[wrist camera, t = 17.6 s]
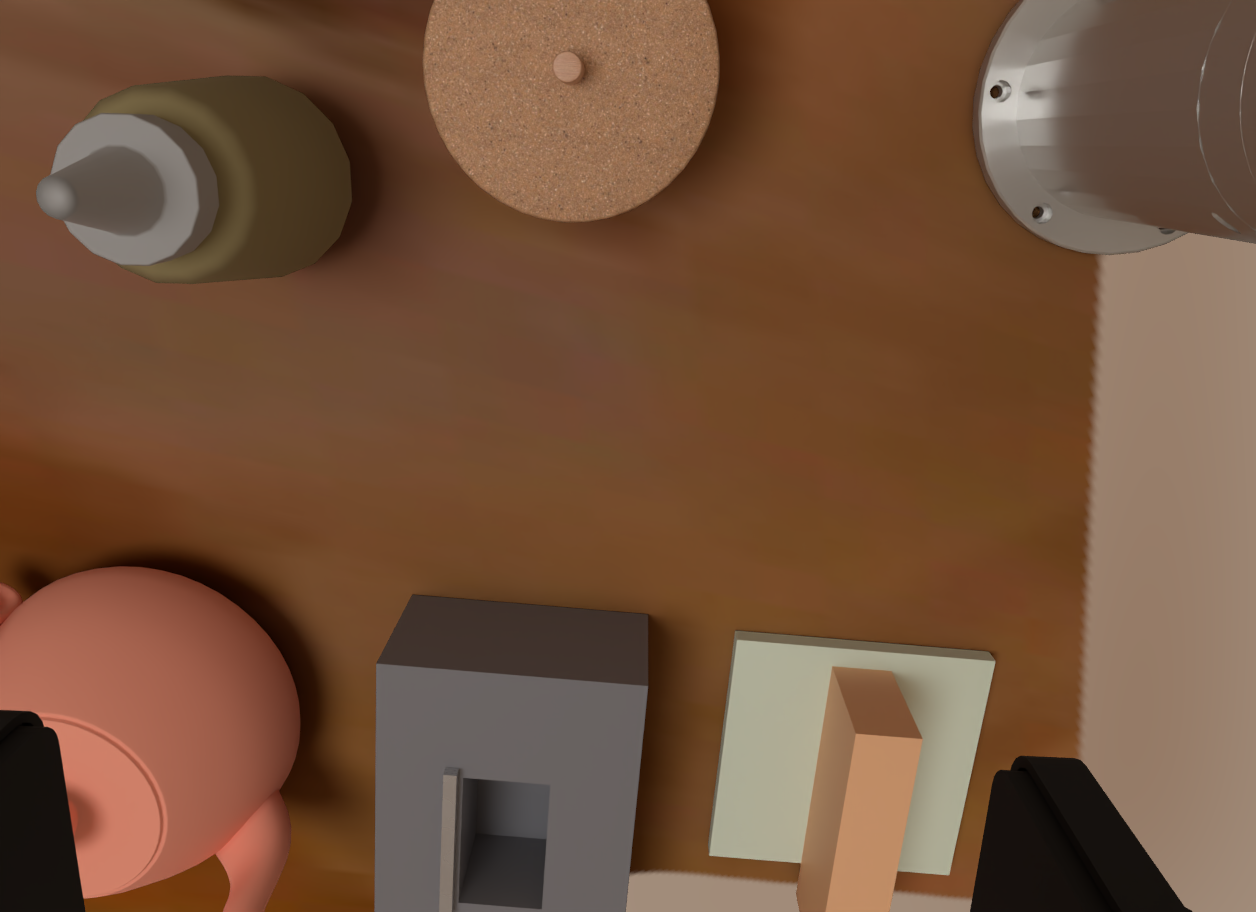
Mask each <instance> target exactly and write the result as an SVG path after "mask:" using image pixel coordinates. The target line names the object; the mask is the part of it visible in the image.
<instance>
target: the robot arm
mask: <svg viewBox="0 0 1256 912" xmlns="http://www.w3.org/2000/svg"><path fill="white" fill-rule="evenodd" d="M993 86H996V87H997V88H998V89H999V94H998V96H997V97H996V98H995V99H994V98H992V97H991V96H990V90H991V88H992V87H993ZM973 134H974V141H975V148H976V155H977V158H978V161H979V164H980V167H981V170H982V172H983V175H984V178H985V181H986V183H987V184H988V186H989V188H990V189H991V191H992V193H993V194H994V196H995V198H996V199H997V201H998V203H999V204H1000V205H1001V206H1002V207H1003V208H1004V210H1005V211H1006V212H1007V213H1008V214H1009V215H1010V216H1011V217H1012V218H1013V219H1014V220H1015V221H1016V222H1017V223H1018V224H1019V225H1021V226H1022V227H1024V228H1025V229H1027V230H1028V231H1029V232H1031V233H1032V234H1034V235H1035V236H1037V237H1038V238H1040V239H1043V240H1045V241H1048V242H1050V243H1052V244H1055V245H1057V246H1060V247H1062V248H1066V249H1071V250H1075V251H1079V252H1082V253H1092V254H1104V255H1114V254H1124V253H1134V252H1140V251H1143V250H1147V249H1150V248H1153V247H1157V246H1161V245H1164V244H1167V243H1169V242H1171V241H1173V240H1175V239H1177V238H1179V237H1181V236H1183V235H1185V234H1187V233H1195V234H1201V235H1207V236H1213V237H1219V238H1225V239H1231V240H1237V241H1243V242H1249V243H1256V0H1020V1H1019V2H1018V3H1017V4H1016V5H1015V6H1014V7H1013V9H1012V10H1011V11H1010V12H1009V13H1008V15H1007V17H1006V18H1005V20H1004V21H1003V23H1002V25H1001V26H1000V28H999V29H998V31H997V33H996V34H995V36H994V37H993V39H992V41H991V44H990V46H989V48H988V51H987V53H986V56H985V58H984V61H983V63H982V66H981V68H980V72H979V77H978V81H977V86H976V90H975V95H974V103H973ZM1035 207H1039V209H1040V213H1039V216H1037V217H1036V218H1033V217H1032V211H1033V209H1034V208H1035ZM1158 227H1159V228H1158ZM0 912H85V906H84V899H83V893H82V886H81V880H80V874H79V867H78V861H77V854H76V848H75V841H74V835H73V828H72V822H71V816H70V809H69V803H68V796H67V790H66V783H65V777H64V771H63V764H62V758H61V751H60V745H59V740H58V736H57V734H56V732H55V731H54V730H53V729H52V728H49V727H44V725H43V721H42V720H41V718H40V717H39V716H38V714H36V713H33V712H31V711H15V710H0ZM970 912H1192V911H1191V910H1189V909H1187V908H1185V907H1184V906H1183V904H1182V902H1181V901H1180V900H1179V898H1178V897H1177V895H1176V894H1175V892H1174V891H1173V890H1172V888H1171V887H1170V885H1169V884H1168V882H1167V881H1166V880H1165V878H1164V877H1163V875H1162V874H1161V872H1160V871H1159V869H1158V868H1157V867H1156V865H1155V864H1154V862H1153V861H1152V860H1151V858H1150V857H1149V855H1148V854H1147V852H1146V851H1145V849H1144V848H1143V847H1142V845H1141V844H1140V842H1139V841H1138V839H1137V838H1136V837H1135V835H1134V834H1133V832H1132V831H1131V829H1130V828H1129V827H1128V825H1127V824H1126V822H1125V821H1124V819H1123V818H1122V817H1121V815H1120V814H1119V812H1118V811H1117V810H1116V808H1115V807H1114V805H1113V804H1112V802H1111V801H1110V800H1109V798H1108V796H1107V795H1106V794H1105V792H1104V791H1103V789H1102V788H1101V787H1100V785H1099V784H1098V782H1097V781H1096V779H1095V778H1094V777H1093V775H1092V774H1091V772H1090V771H1089V769H1088V768H1087V766H1086V765H1085V764H1084V763H1083V762H1082V761H1081V760H1078V759H1075V758H1057V757H1035V756H1020V757H1018V758H1016V759H1015V761H1014V762H1013V764H1012V767H1011V770H1000V771H998V772H997V773H996V775H995V776H994V779H993V783H992V789H991V794H990V800H989V806H988V812H987V817H986V823H985V829H984V835H983V840H982V846H981V852H980V858H979V863H978V869H977V875H976V881H975V886H974V892H973V898H972V904H971V909H970Z"/></svg>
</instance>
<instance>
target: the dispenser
mask: <svg viewBox="0 0 1256 912" xmlns="http://www.w3.org/2000/svg"><path fill="white" fill-rule="evenodd" d="M647 693H648V614H638V613H626V612H614V611H602V610H590V609H578V608H566V607H554V606H542V605H530V604H518V603H506V602H494V601H482V600H470V599H458V598H446V597H434V596H422V595H412V596H411V598H410V600H409V602H408V604H407V606H406V608H405V610H404V612H403V613H402V615H401V617H400V619H399V621H398V623H397V625H396V627H395V629H394V631H393V633H392V635H391V636H390V638H389V640H388V642H387V644H386V646H385V648H384V650H383V652H382V654H381V656H380V658H379V659H378V661H377V663H376V788H375V912H626V903H627V893H628V883H629V873H630V863H631V853H632V843H633V833H634V823H635V813H636V803H637V793H638V783H639V773H640V763H641V753H642V743H643V733H644V723H645V713H646V703H647Z"/></svg>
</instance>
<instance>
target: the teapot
mask: <svg viewBox="0 0 1256 912" xmlns="http://www.w3.org/2000/svg"><path fill="white" fill-rule="evenodd" d="M0 710H15V711H31V712H33V713H36V714H38V716H39V717H40V718H41V720H42V721H43V725H44V727H49V728H52V729H53V730H54V731H55V732H56V734H57V736H58V740H59V745H60V751H61V758H62V764H63V771H64V777H65V783H66V790H67V796H68V803H69V809H70V816H71V822H72V828H73V835H74V841H75V848H76V854H77V861H78V867H79V874H80V880H81V886H82V893H83V898H95V897H100V896H106V895H112V894H117V893H122V892H126V891H129V890H132V889H135V888H139V887H142V886H145V885H148V884H151V883H154V882H157V881H160V880H163V879H166V878H169V877H171V876H173V875H176V874H178V873H180V872H183V871H185V870H187V869H189V868H191V867H193V866H195V865H198V864H199V863H201V862H202V861H204V860H206V859H207V858H209V857H210V856H212V855H214V854H216V855H217V857H218V858H219V860H220V861H221V863H222V864H223V866H224V868H225V870H226V872H227V874H228V877H229V880H230V888H231V889H230V894H229V898H228V900H227V903H226V905H225V908H224V910H223V912H264V910H265V907H266V905H267V903H268V900H269V898H270V896H271V894H272V892H273V890H274V888H275V886H276V883H277V881H278V879H279V877H280V875H281V872H282V870H283V868H284V865H285V863H286V860H287V857H288V853H289V849H290V844H291V823H290V818H289V814H288V810H287V808H286V805H285V803H284V801H283V798H282V796H281V794H280V791H279V790H280V789H281V787H282V785H283V784H284V782H285V780H286V779H287V777H288V775H289V773H290V771H291V768H292V766H293V763H294V761H295V758H296V754H297V750H298V745H299V740H300V725H301V724H300V708H299V700H298V695H297V691H296V687H295V683H294V681H293V678H292V675H291V673H290V670H289V668H288V666H287V664H286V662H285V660H284V658H283V656H282V655H281V653H280V651H279V650H278V648H277V647H276V645H275V644H274V643H273V641H272V640H271V638H270V637H269V635H268V634H267V633H266V632H265V631H264V630H263V629H262V628H261V627H260V626H259V624H258V623H257V622H256V621H255V620H254V619H253V618H251V617H250V616H249V615H248V614H247V613H246V612H245V611H243V610H242V609H241V608H240V607H239V606H238V605H236V604H235V603H233V602H232V601H230V600H229V599H227V598H226V597H224V596H223V595H222V594H220V593H218V592H216V591H214V590H213V589H211V588H209V587H207V586H205V585H203V584H201V583H199V582H196V581H194V580H191V579H189V578H186V577H184V576H181V575H178V574H174V573H170V572H167V571H163V570H158V569H151V568H145V567H128V566H118V567H107V568H98V569H92V570H88V571H83V572H79V573H75V574H72V575H69V576H67V577H64V578H61V579H58V580H56V581H54V582H52V583H51V584H49V585H47V586H45V587H43V588H41V589H40V590H39V591H37V592H36V593H35V594H33V595H32V596H31V597H29V598H28V599H27V600H25V601H24V602H23V601H22V598H21V596H20V594H19V593H18V592H17V591H16V590H15V589H13V588H12V587H10V586H8V585H6V584H4V583H1V582H0Z"/></svg>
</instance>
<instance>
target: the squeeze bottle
mask: <svg viewBox="0 0 1256 912" xmlns="http://www.w3.org/2000/svg"><path fill="white" fill-rule="evenodd" d="M36 196H37V202H38V203H39V205H40V207H41V209H42V210H43V211H44V212H45V213H46V214H47V215H49V216H51V217H53V218H56V219H59V220H63V221H64V222H65V224H66V226H67V228H68V229H69V231H70V233H71V234H73V235H74V236H75V237H76V238H77V239H78V240H79V241H80V242H81V243H82V244H83V245H84V246H86V247H87V248H88V249H89V250H90V251H91V252H92V253H93V254H96V255H98V256H100V257H103V258H105V259H108V260H110V261H112V262H115V263H116V264H118V265H119V266H120V267H121V268H123V269H125V270H128V271H130V272H132V273H135V274H137V275H139V276H142V277H144V278H146V279H149V280H151V281H153V282H156V283H183V284H197V283H209V282H222V281H235V280H247V279H260V278H272V277H282V276H285V275H287V274H290V273H292V272H295V271H297V270H300V269H302V268H305V267H307V266H310V265H312V264H314V263H316V262H317V261H318V260H319V258H320V257H321V256H322V255H323V254H324V253H325V252H326V251H327V250H328V249H329V248H330V247H331V246H332V245H333V244H334V243H335V241H336V240H337V239H338V238H339V237H340V235H341V232H342V229H343V226H344V223H345V220H346V218H347V215H348V212H349V209H350V206H351V203H352V191H351V173H350V161H349V159H348V156H347V154H346V152H345V150H344V148H343V145H342V143H341V141H340V139H339V136H338V134H337V132H336V130H335V127H334V125H333V123H332V122H331V121H330V120H329V119H328V118H327V117H326V116H325V115H324V114H323V113H322V112H321V111H320V110H319V109H318V108H317V107H316V106H315V105H314V104H313V103H312V102H311V101H310V100H309V99H308V98H307V97H306V96H305V95H304V94H303V93H301V92H299V91H296V90H294V89H292V88H290V87H288V86H285V85H283V84H281V83H279V82H277V81H274V80H272V79H270V78H268V77H259V76H219V77H209V78H200V79H191V80H181V81H172V82H163V83H153V84H144V85H135V86H132V87H129V88H127V89H125V90H122V91H120V92H118V93H116V94H113V95H111V96H109V97H107V98H104V99H102V100H100V101H99V102H98V103H97V104H96V106H95V107H94V108H93V109H92V110H91V112H90V113H89V114H88V115H87V116H86V118H85V119H84V120H83V121H82V122H80V123H77V124H75V126H74V127H73V128H72V129H71V130H70V132H69V133H68V134H67V135H66V136H65V138H64V139H63V140H62V141H61V142H60V144H59V145H58V147H57V151H56V155H55V158H54V162H53V166H52V170H51V175H49V176H47V177H45V178H43V179H42V181H41V182H40V183H39V184H38V187H37V191H36Z"/></svg>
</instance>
